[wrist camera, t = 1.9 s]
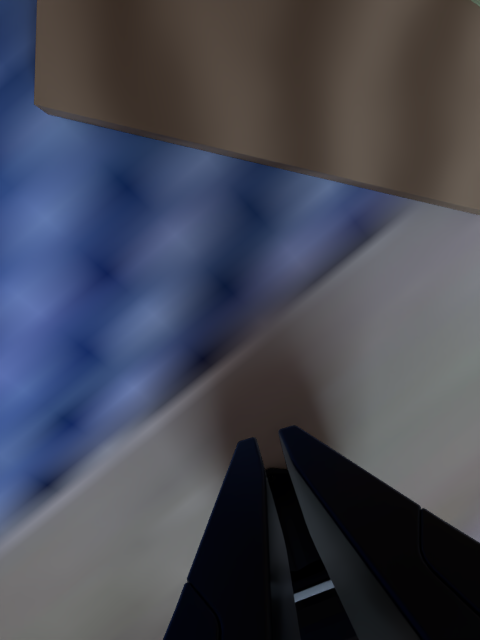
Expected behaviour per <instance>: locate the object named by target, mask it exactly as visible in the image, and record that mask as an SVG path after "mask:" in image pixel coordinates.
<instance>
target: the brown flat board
mask: <svg viewBox="0 0 480 640" xmlns="http://www.w3.org/2000/svg"><path fill="white" fill-rule="evenodd" d="M34 105H36V106H37V107H38V108H40V109H41V110H43V111H44V112H46V113H47V114H49V115H54V116H58V117H62V118H66V119H71V120H75V121H79V122H84V123H88V124H92V125H96V126H101V127H105V128H109V129H113V130H118V131H122V132H126V133H131V134H135V135H139V136H143V137H148V138H152V139H156V140H160V141H165V142H169V143H173V144H178V145H182V146H186V147H190V148H195V149H199V150H203V151H207V152H212V153H216V154H220V155H225V156H229V157H233V158H237V159H242V160H246V161H250V162H254V163H259V164H263V165H267V166H272V167H276V168H280V169H284V170H289V171H293V172H297V173H302V174H306V175H310V176H314V177H319V178H323V179H327V180H331V181H336V182H340V183H344V184H349V185H353V186H357V187H361V188H366V189H370V190H374V191H378V192H383V193H387V194H391V195H396V196H400V197H404V198H408V199H413V200H417V201H421V202H425V203H430V204H434V205H438V206H443V207H447V208H451V209H455V210H460V211H464V212H468V213H472V214H477V215H480V0H37V21H36V55H35V89H34Z"/></svg>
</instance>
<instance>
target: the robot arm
mask: <svg viewBox="0 0 480 640" xmlns="http://www.w3.org/2000/svg"><path fill="white" fill-rule="evenodd" d="M279 438H280V442H281V446H282V450H283V454H284V458H285V461H286V465H287V468H288V470H286V469H273V468H271V469H267V470H266V471H265V468H264V464H263V461H262V457H261V453H260V450H259V446H258V443H257V439H256V438H254V437H252V438H249V439H245V440H242V441H239V442H238V444H237V446H236V449H235V452H234V454H233V457H232V460H231V462H230V465H229V468H228V470H227V473H226V476H225V479H224V481H223V484H222V487H221V489H220V492H219V495H218V497H217V500H216V503H215V505H214V508H213V511H212V513H211V516H210V519H209V521H208V524H207V527H206V529H205V532H204V535H203V537H202V540H201V543H200V545H199V548H198V551H197V553H196V556H195V559H194V561H193V564H192V567H191V569H190V572H189V575H188V577H187V583H185V585H184V587H183V590H182V593H181V595H180V598H179V601H178V603H177V606H176V609H175V611H174V614H173V616H172V619H171V621H170V623H169V626H168V628H167V631H166V633H165V636H164V638H163V640H480V543H479V542H477V541H476V540H474V539H473V538H471V537H469V536H468V535H466V534H464V533H463V532H461V531H460V530H458V529H456V528H455V527H453V526H451V525H450V524H448V523H447V522H445V521H443V520H442V519H440V518H439V517H437V516H436V515H434V514H432V513H431V512H429V511H428V510H426V509H425V508H422V509H421V507H420V505H418V504H417V503H415V502H414V501H412V500H410V499H409V498H407V497H406V496H404V495H403V494H401V493H400V492H398V491H397V490H395V489H393V488H392V487H390V486H389V485H387V484H386V483H384V482H383V481H381V480H380V479H378V478H376V477H375V476H373V475H372V474H370V473H369V472H367V471H366V470H364V469H363V468H361V467H359V466H358V465H356V464H355V463H353V462H352V461H350V460H349V459H347V458H346V457H344V456H342V455H341V454H339V453H338V452H336V451H335V450H333V449H332V448H330V447H328V446H327V445H325V444H324V443H322V442H321V441H319V440H318V439H316V438H315V437H313V436H311V435H310V434H308V433H307V432H305V431H304V430H302V429H301V428H299V427H298V426H295V425H293V426H289V427H286V428H282V429H280V430H279ZM269 476H272V477H269Z"/></svg>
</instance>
